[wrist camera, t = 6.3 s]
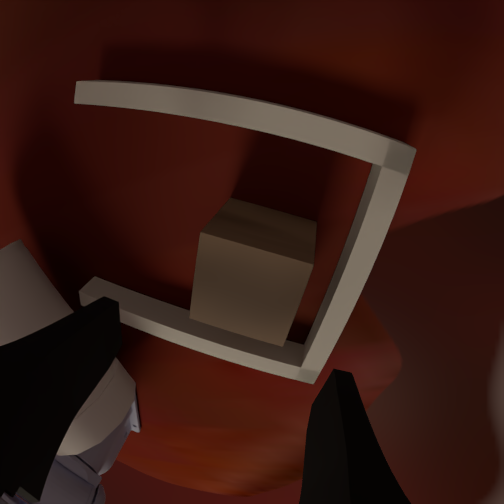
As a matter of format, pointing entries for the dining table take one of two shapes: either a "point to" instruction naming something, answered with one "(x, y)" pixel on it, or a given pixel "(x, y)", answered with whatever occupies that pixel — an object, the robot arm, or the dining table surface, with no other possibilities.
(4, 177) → the dining table surface
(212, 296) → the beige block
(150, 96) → the bay
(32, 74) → the dining table surface
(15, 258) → the foam cup
